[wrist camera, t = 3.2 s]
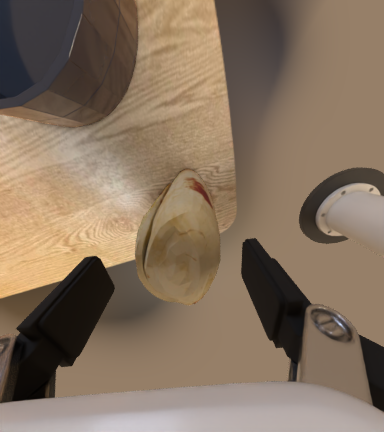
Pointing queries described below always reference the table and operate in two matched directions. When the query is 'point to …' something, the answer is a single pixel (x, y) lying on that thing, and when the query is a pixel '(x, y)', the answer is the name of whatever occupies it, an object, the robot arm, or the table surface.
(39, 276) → the table surface
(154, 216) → the food model
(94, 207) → the table surface
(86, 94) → the pot
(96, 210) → the table surface
